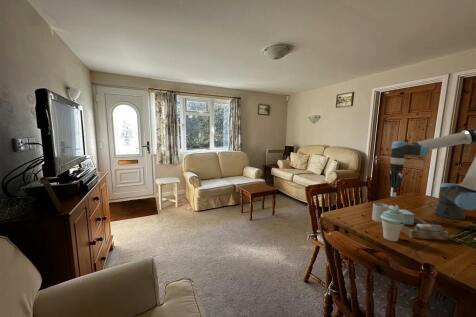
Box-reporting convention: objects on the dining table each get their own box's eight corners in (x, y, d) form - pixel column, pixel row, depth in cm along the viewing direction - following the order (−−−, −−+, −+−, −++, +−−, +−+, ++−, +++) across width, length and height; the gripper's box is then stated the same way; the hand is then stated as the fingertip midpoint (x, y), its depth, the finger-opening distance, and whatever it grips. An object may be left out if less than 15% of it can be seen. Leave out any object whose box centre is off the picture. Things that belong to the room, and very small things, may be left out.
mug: (384, 224, 129) (385, 207, 128) (369, 219, 136) (370, 204, 134) (391, 219, 136) (392, 204, 134) (377, 215, 143) (378, 200, 141)
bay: (416, 221, 132) (418, 210, 131) (448, 240, 109) (450, 227, 108) (387, 220, 134) (388, 209, 133) (412, 238, 111) (413, 225, 110)
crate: (404, 219, 136) (405, 209, 135) (413, 224, 128) (414, 214, 127) (391, 218, 137) (392, 209, 136) (399, 224, 129) (400, 213, 128)
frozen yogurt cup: (381, 231, 119) (384, 199, 116) (405, 239, 110) (409, 204, 108) (375, 237, 113) (378, 203, 110) (400, 246, 104) (404, 209, 102)
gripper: (385, 162, 146) (382, 193, 149) (396, 165, 133) (393, 199, 136) (396, 162, 145) (393, 193, 148) (409, 165, 132) (405, 199, 135)
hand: (393, 196), depth 142 cm, fingers closed
